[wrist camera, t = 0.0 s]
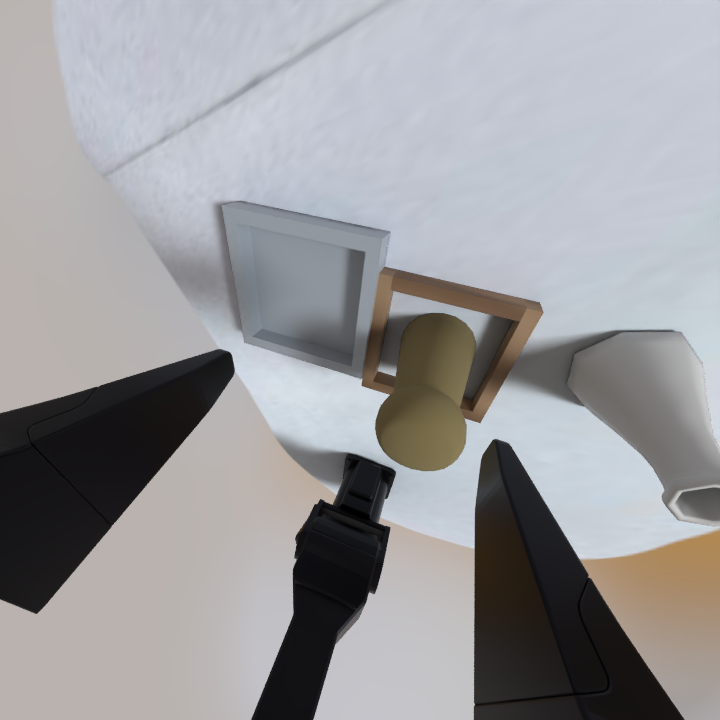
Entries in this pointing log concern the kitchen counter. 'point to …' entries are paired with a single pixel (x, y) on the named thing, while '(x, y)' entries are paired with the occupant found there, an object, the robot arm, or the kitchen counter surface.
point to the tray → (305, 283)
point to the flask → (657, 413)
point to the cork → (428, 394)
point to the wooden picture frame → (461, 296)
